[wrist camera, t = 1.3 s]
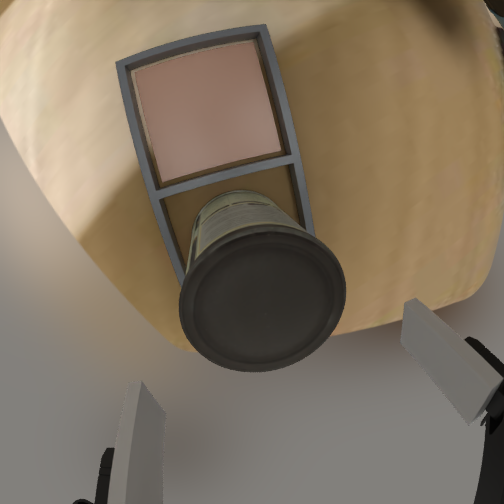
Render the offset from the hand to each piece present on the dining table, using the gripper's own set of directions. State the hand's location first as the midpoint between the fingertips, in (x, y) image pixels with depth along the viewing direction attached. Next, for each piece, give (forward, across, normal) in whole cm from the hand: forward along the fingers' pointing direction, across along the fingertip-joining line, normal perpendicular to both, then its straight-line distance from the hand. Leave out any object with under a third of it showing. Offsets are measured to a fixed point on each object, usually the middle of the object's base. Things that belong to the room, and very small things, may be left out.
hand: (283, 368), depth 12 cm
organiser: (+19, 0, +7) cm, 20 cm away
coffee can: (+19, 0, 0) cm, 19 cm away
